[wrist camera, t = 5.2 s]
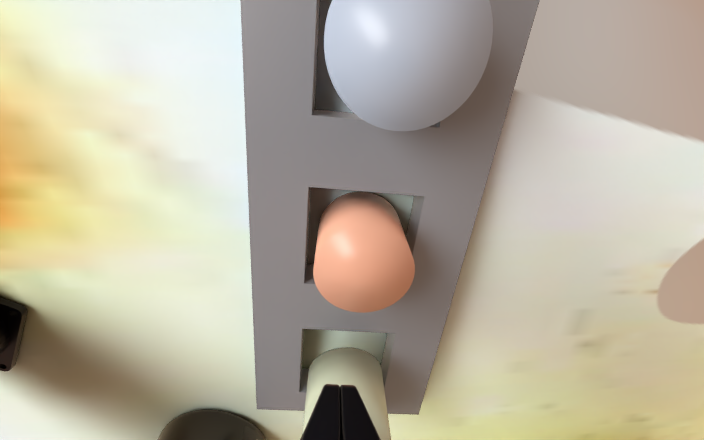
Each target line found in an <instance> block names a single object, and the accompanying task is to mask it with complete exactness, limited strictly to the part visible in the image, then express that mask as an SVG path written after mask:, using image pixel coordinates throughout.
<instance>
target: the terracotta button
mask: <svg viewBox="0 0 704 440" xmlns="http://www.w3.org/2000/svg"><path fill="white" fill-rule="evenodd" d="M414 274H415V264H414V259H413V256H412V253H411V251H410V248H409V245H408V242H407V240H406V237H405V234H404V231H403V229H402V226H401V223H400V220H399V218H398V215H397V213H396V211H395V209H394V208H393V206H392V205H391V204H390V203H389V202H388V201H386V200H385V199H384V198H382V197H380V196H378V195H376V194H372V193H368V192H352V193H348V194H345V195H342V196H340V197H338V198H337V199H335V200H334V201H332V202H331V203H330V204H329V205H328V206H327V207H326V209H325V210H324V212H323V213H322V216H321V218H320V222H319V229H318V236H317V244H316V252H315V260H314V268H313V276H314V281H315V284H316V287H317V289H318V291H319V292H320V293H321V295H322V296H323V297H324V298H325V299H326V300H327V301H328V302H330V303H331V304H333V305H334V306H336V307H338V308H340V309H343V310H346V311H351V312H359V313H365V312H373V311H378V310H381V309H384V308H386V307H389V306H391V305H392V304H394V303H395V302H397V301H398V300H399V299H401V298H402V297H403V296H404V295H405V293H406V292H407V291H408V289H409V288H410V286H411V284H412V282H413V278H414Z"/></svg>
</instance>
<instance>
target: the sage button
mask: <svg viewBox="0 0 704 440" xmlns="http://www.w3.org/2000/svg"><path fill="white" fill-rule="evenodd" d="M325 384H337V385H339V387H340V386H341V385H354V386H356V388H357V390H358V392H359V394H360V396H361V398H362V400H363V402H364V405H365V407H366V409H367V411H368V413H369V415H370V417H371V420H372V422H373V424H374V426H375V428H376V430H377V433H378V435H379V437H380V439H381V440H391V436H390V428H389V421H388V413H387V406H386V398H385V391H384V383H383V376H382V369H381V365H380V363H379V362H378V360H377V359H376V358H375V357H374V356H372V355H371V354H369V353H368V352H366V351H363V350H360V349H356V348H336V349H332V350H329V351H326V352H324V353H322V354H321V355H319V356H318V357H317V358H316V359H315V360H314V361H313V362H312V363H311V365H310V368H309V372H308V381H307V391H306V401H305V411H304V421H303V431H302V435H303V432H304V430H305V428H306V425H307V423H308V421H309V419H310V416H311V414H312V412H313V409H314V407H315V405H316V402H317V400H318V398H319V395H320V393H321V391H322V388H323V386H324V385H325Z"/></svg>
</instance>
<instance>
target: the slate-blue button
mask: <svg viewBox="0 0 704 440" xmlns="http://www.w3.org/2000/svg"><path fill="white" fill-rule="evenodd" d="M492 37H493V17H492V11H491V5H490V1H489V0H332V2H331V5H330V7H329V10H328V14H327V19H326V23H325V31H324V53H325V61H326V65H327V69H328V73H329V76H330V79H331V81H332V84H333V86H334V88H335V90H336V92H337V93H338V95H339V96H340V98H341V99H342V101H343V102H344V103H345V104H346V106H347V107H348V108H349V109H350V110H351V111H352V112H353V113H355V114H356V115H357V116H358V117H359V118H361V119H363V120H364V121H366V122H367V123H369V124H372V125H374V126H376V127H379V128H382V129H385V130H391V131H414V130H419V129H423V128H426V127H429V126H431V125H434V124H436V123H438V122H440V121H442V120H444V119H445V118H447V117H448V116H449V115H451V114H452V113H454V112H455V111H456V110H457V109H458V108H459V107H460V106H461V105H462V104H463V103H464V102H465V101H466V100H467V99H468V98H469V96H470V95H471V94H472V92H473V91H474V89H475V88H476V86H477V84H478V83H479V81H480V79H481V77H482V75H483V73H484V70H485V68H486V65H487V62H488V59H489V56H490V51H491V46H492Z"/></svg>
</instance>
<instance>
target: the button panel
mask: <svg viewBox="0 0 704 440" xmlns="http://www.w3.org/2000/svg"><path fill="white" fill-rule="evenodd" d="M489 1H490V5H491V11H492V17H493V37H492V46H491V51H490V56H489V59H488V62H487V65H486V68H485V70H484V73H483V75H482V77H481V79H480V81H479V83H478V84H477V86H476V88H475V89H474V91H473V92H472V94H471V95H470V96H469V98H468V99H467V100H466V101H465V102H464V103H463V104H462V105H461V106H460V107H459V108H458V109H457V110H456V111H455V112H454V113H452V114H451V115H449V116H448V117H447V118H445V119H444V120H442V121H440V122H438V123H436V124H434V125H431V126H429V127H426V128H423V129H419V130H414V131H391V130H385V129H382V128H379V127H376V126H374V125H372V124H369V123H367V122H366V121H364V120H363V119H361V118H359V117H358V116H357V115H356V114H355V113H348V112H338V111H328V110H318V109H315V91H316V70H317V49H318V29H319V8H320V0H241V22H242V47H243V72H244V97H245V123H246V148H247V173H248V198H249V223H250V249H251V274H252V299H253V324H254V349H255V374H256V400H257V409H268V410H298V411H305V401H306V391H307V381H308V372H309V369H302V360H303V339H304V329H320V330H340V331H359V332H379V333H387V338H386V343H385V348H384V353H383V358H382V364H381V369H382V376H383V383H384V391H385V398H386V406H387V413H388V414H419V411H420V408H421V404H422V401H423V397H424V394H425V390H426V387H427V384H428V380H429V377H430V373H431V370H432V366H433V363H434V360H435V356H436V353H437V349H438V346H439V343H440V339H441V336H442V332H443V329H444V325H445V322H446V319H447V315H448V312H449V308H450V305H451V301H452V298H453V295H454V291H455V288H456V284H457V281H458V277H459V274H460V271H461V267H462V264H463V260H464V257H465V254H466V250H467V247H468V243H469V240H470V236H471V233H472V230H473V226H474V223H475V219H476V216H477V212H478V209H479V206H480V202H481V199H482V195H483V192H484V189H485V185H486V182H487V178H488V175H489V171H490V168H491V165H492V161H493V158H494V154H495V151H496V147H497V144H498V141H499V137H500V134H501V130H502V127H503V123H504V120H505V117H506V113H507V110H508V106H509V103H510V100H511V96H512V93H513V89H514V86H515V82H516V79H517V76H518V72H519V69H520V65H521V62H522V58H523V55H524V52H525V48H526V45H527V41H528V38H529V34H530V31H531V28H532V24H533V21H534V17H535V14H536V11H537V7H538V4H539V0H489ZM311 187H316V188H328V189H340V190H352V191H364V192H377V193H389V194H401V195H413V196H414V200H413V205H412V210H411V215H410V220H409V226H408V231H407V236H406V240H407V242H408V245H409V248H410V251H411V253H412V256H413V259H414V264H415V274H414V278H413V282H412V284H411V286H410V288H409V289H408V291H407V292H406V293H405V295H404V296H403V297H402V298H401V299H399V300H398V301H397V302H395V303H394V304H392V305H391V306H389V307H386V308H384V309H381V310H378V311H373V312H365V313H359V312H351V311H346V310H343V309H340V308H338V307H336V306H334V305H333V304H331V303H330V302H328V301H327V300H326V299H325V298H324V297H323V296H322V295H321V293H320V292H319V291H318V289H317V287H316V284H315V281H314V276H313V268H314V265H311V264H307V256H308V236H309V215H310V194H311Z"/></svg>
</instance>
